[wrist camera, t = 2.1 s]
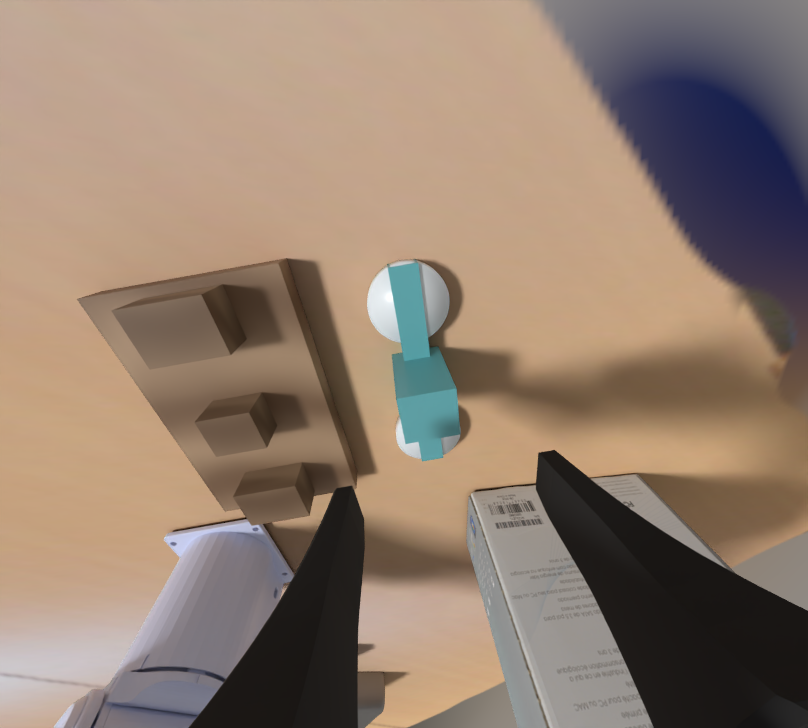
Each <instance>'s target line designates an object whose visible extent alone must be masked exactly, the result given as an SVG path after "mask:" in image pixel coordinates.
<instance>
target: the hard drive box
mask: <svg viewBox="0 0 808 728" xmlns="http://www.w3.org/2000/svg"><path fill="white" fill-rule="evenodd" d="M590 479H591V480H593V481H594V482H595V483H596V484H598V485H599V486H600V487H602V488H603V489H604V490H606V491H607V492H608V493H610V494H611V495H612V496H613V497H615V498H616V499H617V500H619V501H620V502H622V503H623V504H624V505H626V506H627V507H628V508H630V509H631V510H633V511H634V512H636V513H637V514H638V515H640V516H641V517H643V518H644V519H646V520H647V521H649V522H650V523H652V524H653V525H655V526H656V527H658V528H659V529H661V530H662V531H664V532H665V533H667V534H668V535H670V536H672V537H673V538H675V539H676V540H678V541H680V542H681V543H683V544H684V545H686V546H688V547H689V548H691V549H693V550H694V551H696V552H698V553H700V554H701V555H703V556H705V557H707V558H708V559H710V560H712V561H714V562H716V563H717V564H719V565H721V566H723V567H724V568H726V569H728V570H730V571H732V572H733V573H735V572H734V571H733V570H732V569H731V568H730V567H729V566H728V565H727V564H726V563H725V562H724V561H723V560H722V559H721V558H720V557H719V556H718V555H717V554H716V553H715V552H714V551H713V550H712V549H711V548H710V547H709V546H708V545H707V544H706V543H705V542H704V541H703V540H702V539H701V538H700V537H699V536H698V535H697V534H696V533H695V532H694V531H693V530H692V529H691V528H690V527H689V526H688V525H687V524H686V523H685V522H684V521H683V520H682V519H681V518H680V517H679V516H678V515H677V514H676V513H675V511H674V510H673V509H672V508H671V507H670V506H669V505H668V504H666V502H665V501H664V500H663V499H662V498H661V497H660V496H659V495H658V494H657V493H656V492H655V491H654V490H653V489H652V488H651V487H650V486H649V485H648V484H647V483H646V482H645V481H644V480H643V479H642V478H641V477H640V476H639V475H638V474H631V475H622V476H613V477H599V478H590ZM466 541H467V547H468V550H469V553H470V556H471V560H472V563H473V567H474V570H475V574H476V577H477V581H478V584H479V588H480V592H481V595H482V599H483V602H484V606H485V610H486V613H487V617H488V620H489V624H490V627H491V631H492V635H493V638H494V642H495V646H496V649H497V653H498V657H499V660H500V664H501V667H502V671H503V674H504V678H505V682H506V685H507V689H508V692H509V696H510V700H511V703H512V707H513V711H514V714H515V718H516V721H517V725H518V728H653V725H652V723H651V720H650V718H649V716H648V713H647V711H646V708H645V706H644V704H643V702H642V699H641V697H640V695H639V693H638V690H637V688H636V686H635V684H634V681H633V679H632V677H631V675H630V672H629V670H628V668H627V666H626V663H625V661H624V659H623V657H622V655H621V653H620V650H619V648H618V646H617V644H616V642H615V640H614V638H613V635H612V633H611V631H610V629H609V627H608V625H607V623H606V621H605V619H604V616H603V614H602V612H601V610H600V608H599V606H598V604H597V602H596V600H595V598H594V596H593V594H592V592H591V590H590V588H589V587H588V585H587V583H586V581H585V579H584V577H583V576H582V574H581V572H580V571H579V569H578V567H577V566H576V564H575V562H574V560H573V559H572V557H571V555H570V554H569V552H568V550H567V548H566V547H565V545H564V543H563V542H562V540H561V538H560V537H559V535H558V533H557V531H556V530H555V528H554V526H553V524H552V523H551V521H550V519H549V517H548V516H547V513H546V511H545V509H544V507H543V505H542V502H541V500H540V498H539V496H538V493H537V491H536V485H532V486H517V487H507V488H501V489H497V490H488V491H478V492H473V493H472V494H471V496H469V501H468V517H467V540H466ZM735 574H736V573H735Z"/></svg>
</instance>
